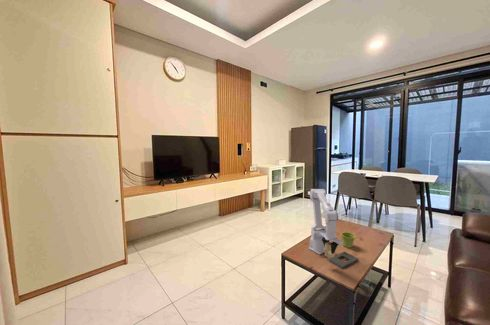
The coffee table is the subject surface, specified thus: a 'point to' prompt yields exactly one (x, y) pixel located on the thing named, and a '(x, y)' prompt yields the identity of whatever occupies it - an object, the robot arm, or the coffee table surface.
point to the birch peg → (328, 250)
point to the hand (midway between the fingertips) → (329, 251)
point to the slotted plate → (341, 263)
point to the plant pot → (348, 239)
